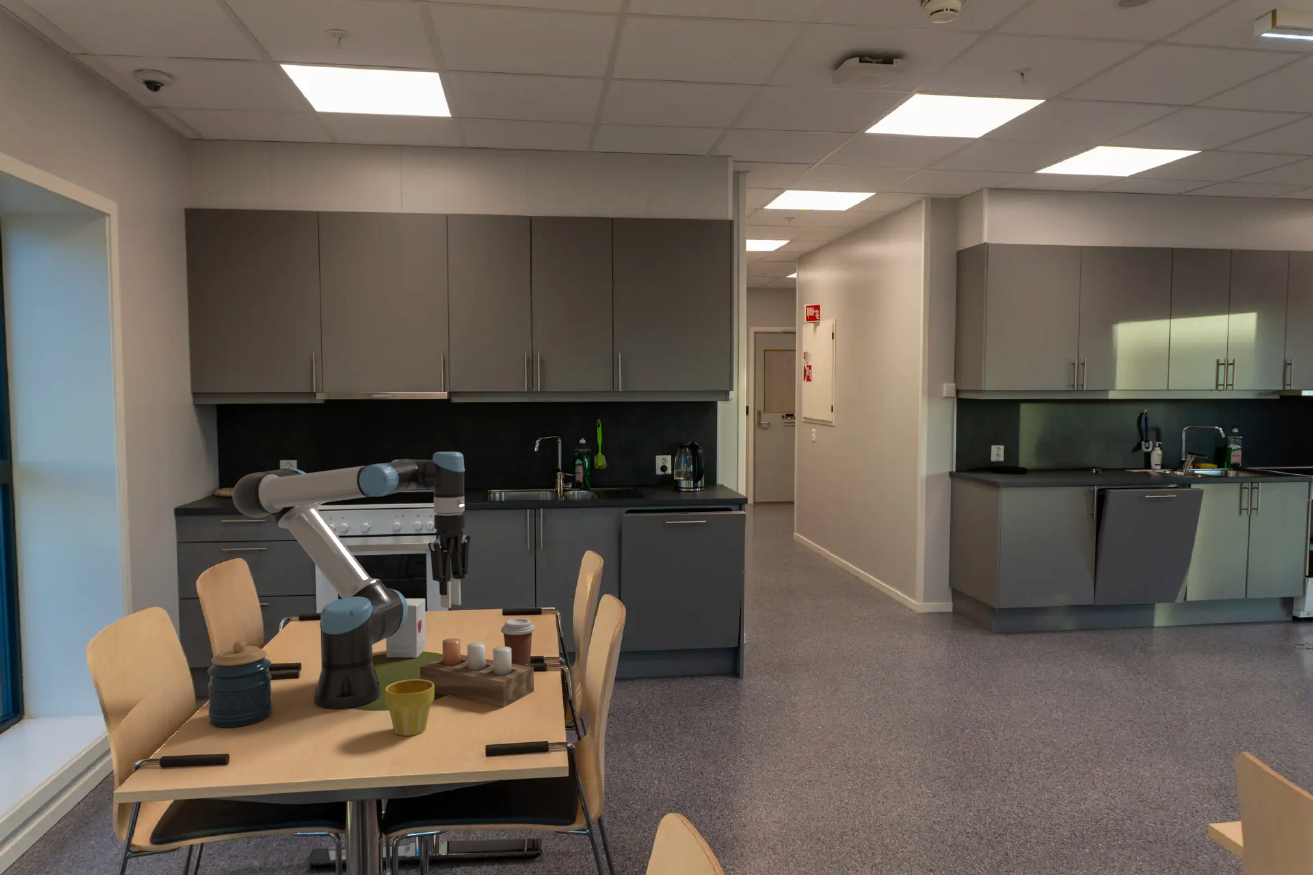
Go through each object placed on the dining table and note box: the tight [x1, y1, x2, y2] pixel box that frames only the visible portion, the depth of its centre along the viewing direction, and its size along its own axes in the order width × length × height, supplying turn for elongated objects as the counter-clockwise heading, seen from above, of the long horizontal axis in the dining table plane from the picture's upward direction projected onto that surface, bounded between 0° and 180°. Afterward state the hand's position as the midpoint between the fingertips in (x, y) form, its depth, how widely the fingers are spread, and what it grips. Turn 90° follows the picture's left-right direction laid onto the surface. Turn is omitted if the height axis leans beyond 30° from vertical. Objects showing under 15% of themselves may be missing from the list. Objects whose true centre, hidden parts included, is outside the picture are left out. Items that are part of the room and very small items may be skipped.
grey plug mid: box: [466, 641, 487, 671], centre depth 203 cm, size 4×4×7 cm
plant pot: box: [384, 678, 435, 737], centre depth 179 cm, size 10×10×10 cm
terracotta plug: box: [442, 637, 462, 667], centre depth 207 cm, size 4×4×7 cm
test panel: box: [419, 654, 535, 708], centre depth 203 cm, size 12×26×6 cm, turn 63°
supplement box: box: [385, 598, 427, 659], centre depth 234 cm, size 9×9×15 cm
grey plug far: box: [492, 646, 512, 676], centre depth 200 cm, size 4×4×7 cm
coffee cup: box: [500, 617, 536, 666], centre depth 223 cm, size 9×9×12 cm
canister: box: [206, 640, 273, 728], centre depth 186 cm, size 13×13×18 cm
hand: (450, 605), depth 206 cm, fingers open, 3 cm apart
